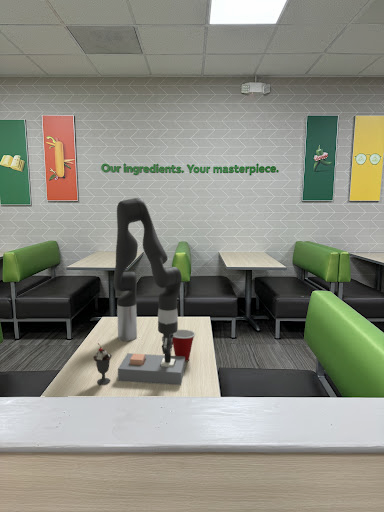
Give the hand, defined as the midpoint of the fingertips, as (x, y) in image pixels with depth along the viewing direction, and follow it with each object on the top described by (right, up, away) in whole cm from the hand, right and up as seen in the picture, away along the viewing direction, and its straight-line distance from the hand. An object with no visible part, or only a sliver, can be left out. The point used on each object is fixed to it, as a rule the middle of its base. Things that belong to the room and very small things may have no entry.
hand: (167, 361), depth 131 cm
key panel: (-6, -6, +2) cm, 8 cm away
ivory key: (0, -4, +1) cm, 4 cm away
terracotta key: (-12, -2, +2) cm, 12 cm away
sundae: (-24, -6, -4) cm, 25 cm away
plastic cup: (+5, -4, +15) cm, 16 cm away
